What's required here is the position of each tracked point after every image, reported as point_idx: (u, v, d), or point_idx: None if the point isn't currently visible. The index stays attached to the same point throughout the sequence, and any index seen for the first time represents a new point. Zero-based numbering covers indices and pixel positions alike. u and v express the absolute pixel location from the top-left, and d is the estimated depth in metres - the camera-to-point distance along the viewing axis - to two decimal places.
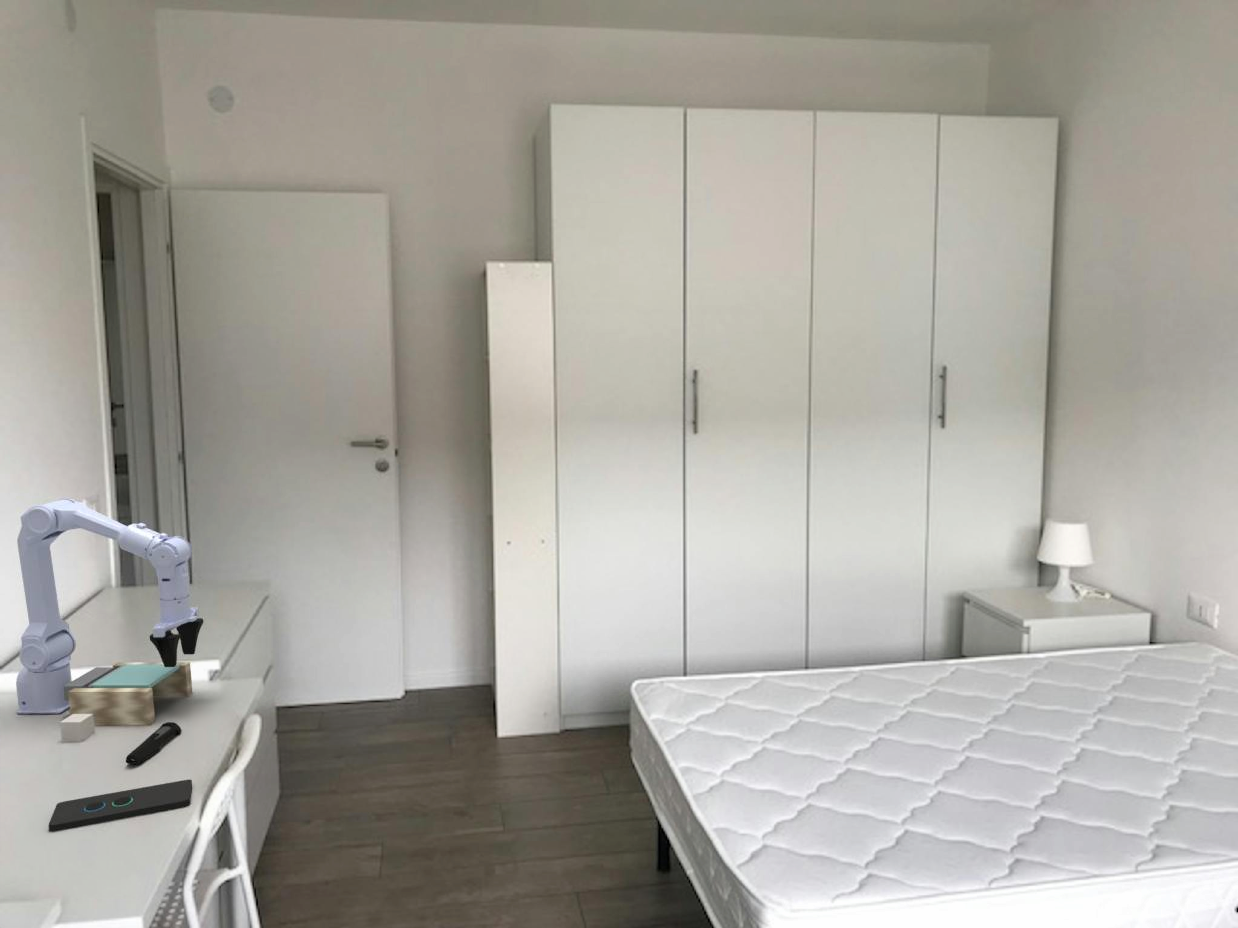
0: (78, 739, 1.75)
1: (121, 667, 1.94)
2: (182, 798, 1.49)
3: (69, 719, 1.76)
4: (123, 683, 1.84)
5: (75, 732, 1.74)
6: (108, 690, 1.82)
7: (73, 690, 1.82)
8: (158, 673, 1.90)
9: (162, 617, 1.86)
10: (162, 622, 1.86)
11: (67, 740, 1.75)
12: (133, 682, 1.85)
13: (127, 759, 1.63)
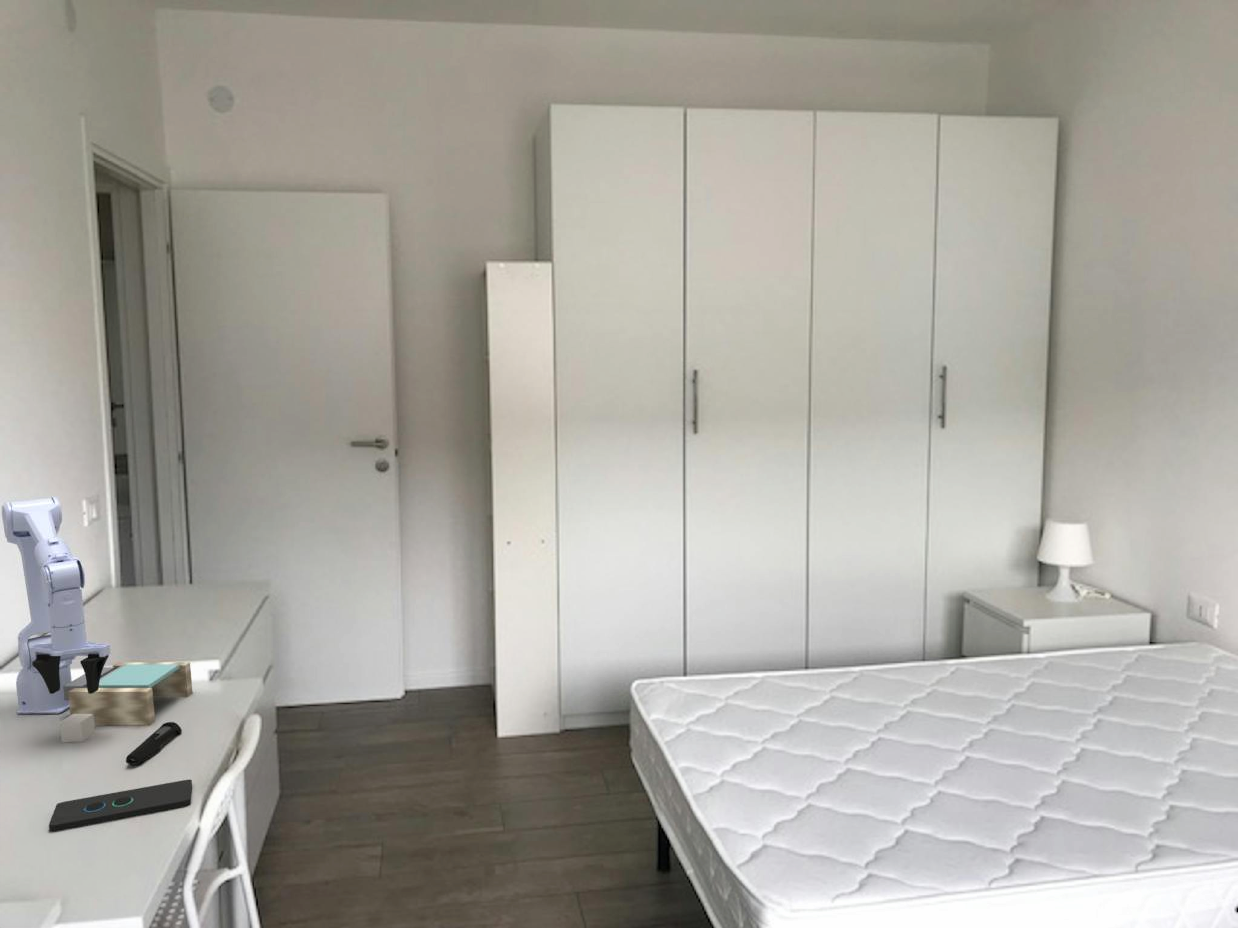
0: (78, 739, 1.75)
1: (121, 667, 1.94)
2: (183, 798, 1.49)
3: (69, 719, 1.76)
4: (123, 683, 1.84)
5: (75, 732, 1.74)
6: (108, 690, 1.82)
7: (73, 690, 1.82)
8: (158, 673, 1.90)
9: None
10: None
11: (67, 740, 1.75)
12: (133, 682, 1.85)
13: (127, 759, 1.63)
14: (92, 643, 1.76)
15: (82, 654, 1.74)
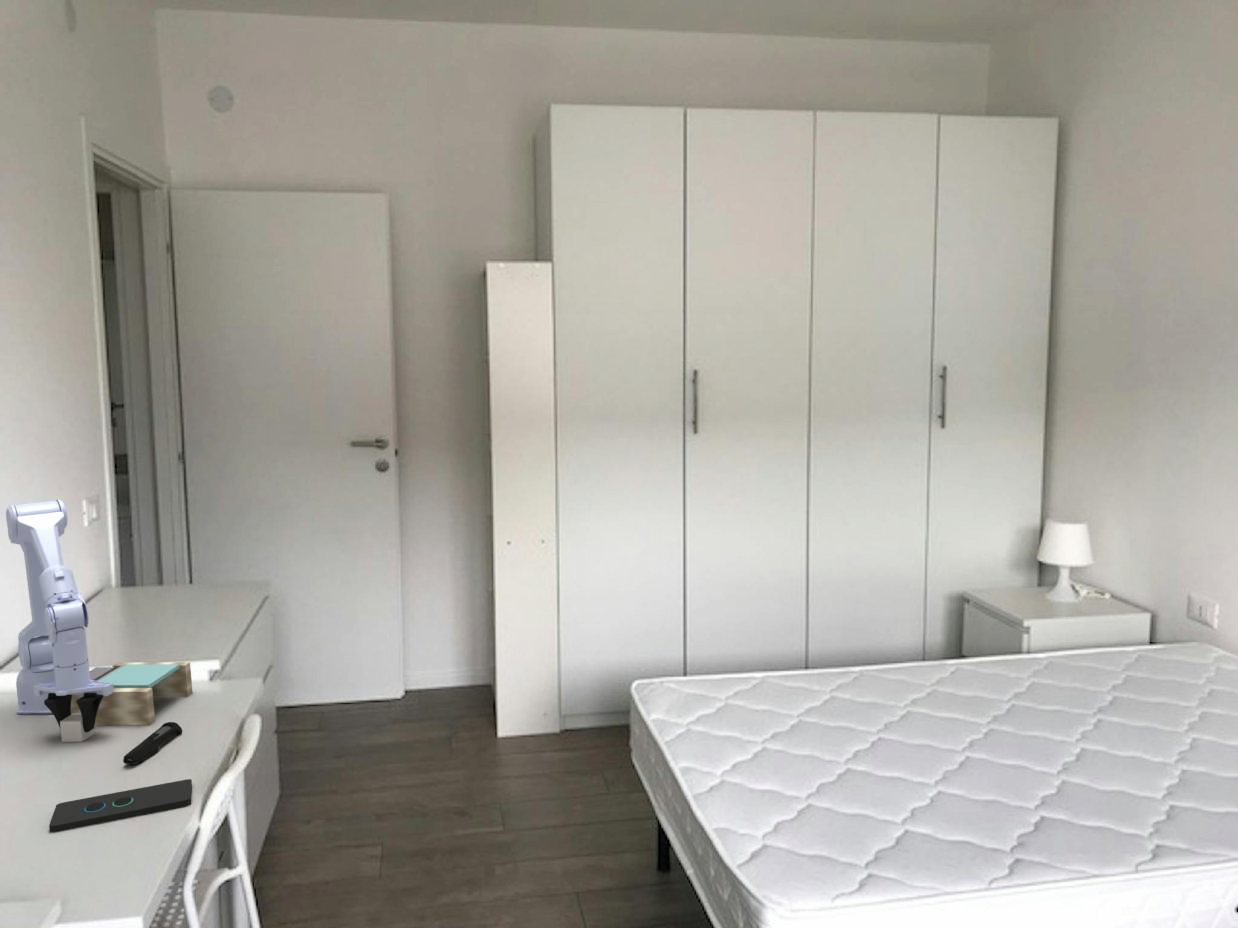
0: (78, 738, 1.75)
1: (121, 667, 1.94)
2: (183, 798, 1.49)
3: (69, 718, 1.76)
4: (123, 683, 1.84)
5: (75, 731, 1.74)
6: None
7: None
8: (158, 673, 1.90)
9: None
10: None
11: (67, 739, 1.75)
12: (133, 682, 1.85)
13: (124, 759, 1.63)
14: (96, 681, 1.77)
15: (86, 693, 1.75)
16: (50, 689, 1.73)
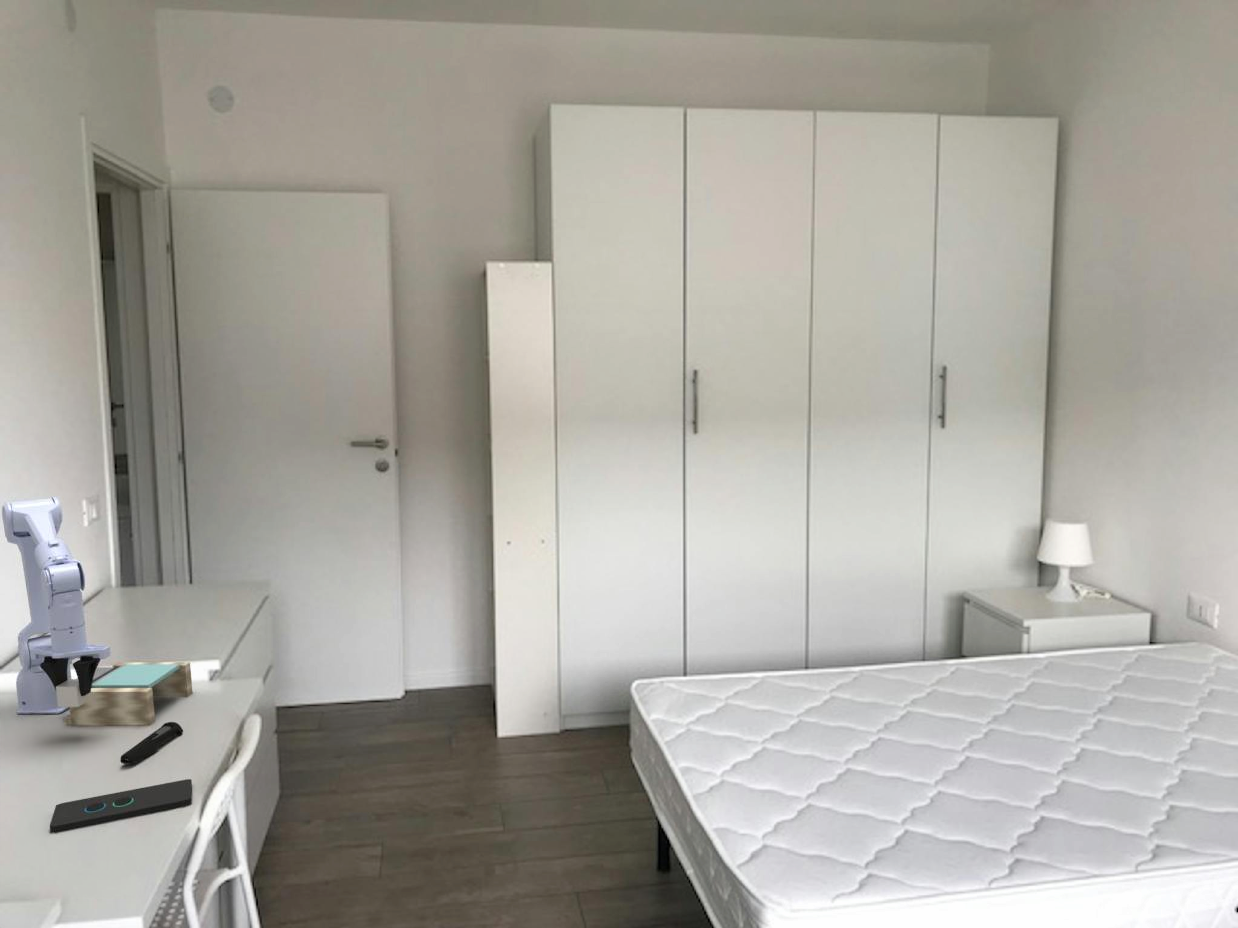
0: (74, 704, 1.74)
1: (121, 667, 1.94)
2: (184, 798, 1.49)
3: (65, 684, 1.75)
4: (123, 683, 1.84)
5: (71, 697, 1.73)
6: (108, 690, 1.82)
7: None
8: (158, 673, 1.90)
9: None
10: None
11: (63, 705, 1.74)
12: (133, 682, 1.85)
13: (121, 759, 1.63)
14: (92, 645, 1.76)
15: (82, 656, 1.74)
16: (46, 652, 1.73)
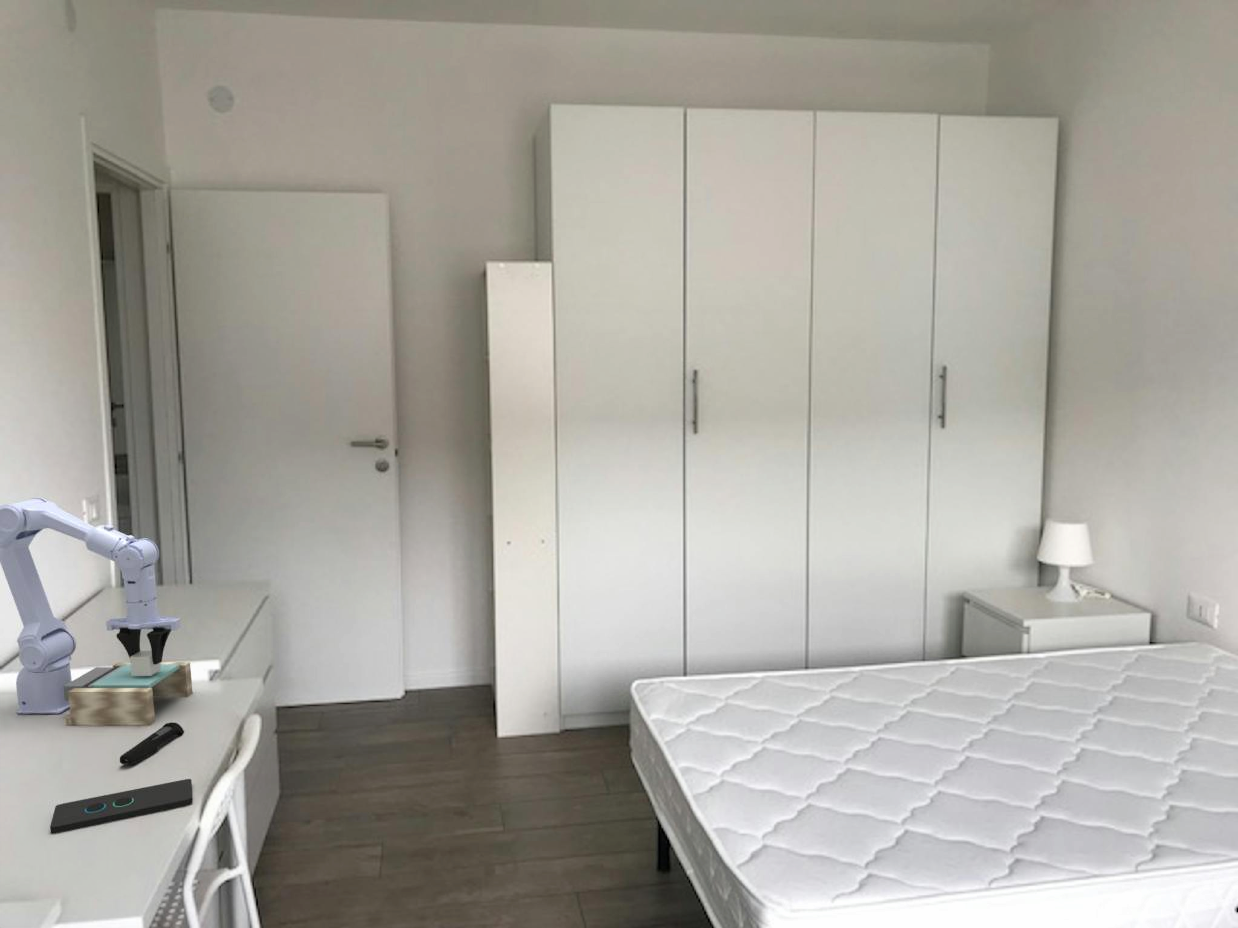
0: (146, 673, 1.87)
1: (121, 667, 1.94)
2: (184, 797, 1.50)
3: (138, 654, 1.88)
4: (123, 683, 1.84)
5: (144, 666, 1.87)
6: (108, 690, 1.82)
7: (73, 690, 1.82)
8: (158, 673, 1.90)
9: None
10: None
11: (136, 674, 1.87)
12: (133, 682, 1.85)
13: (121, 759, 1.63)
14: (163, 618, 1.90)
15: (155, 628, 1.88)
16: (122, 623, 1.86)
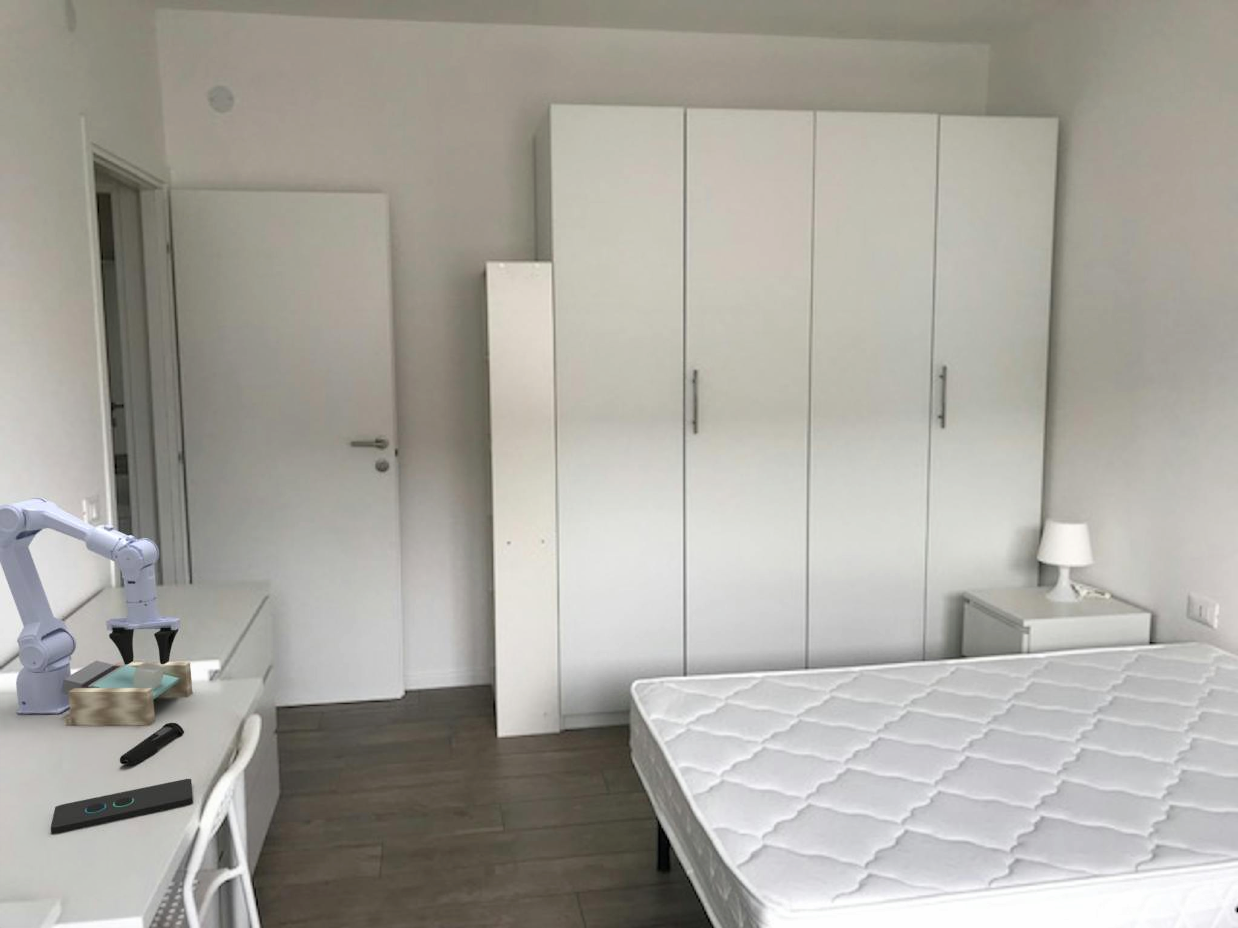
0: (147, 687, 1.87)
1: (121, 667, 1.94)
2: (185, 797, 1.50)
3: (143, 667, 1.88)
4: None
5: (146, 680, 1.87)
6: (108, 690, 1.82)
7: (73, 690, 1.82)
8: None
9: None
10: None
11: (137, 686, 1.87)
12: None
13: (121, 760, 1.63)
14: (163, 618, 1.90)
15: (155, 627, 1.88)
16: (122, 623, 1.86)
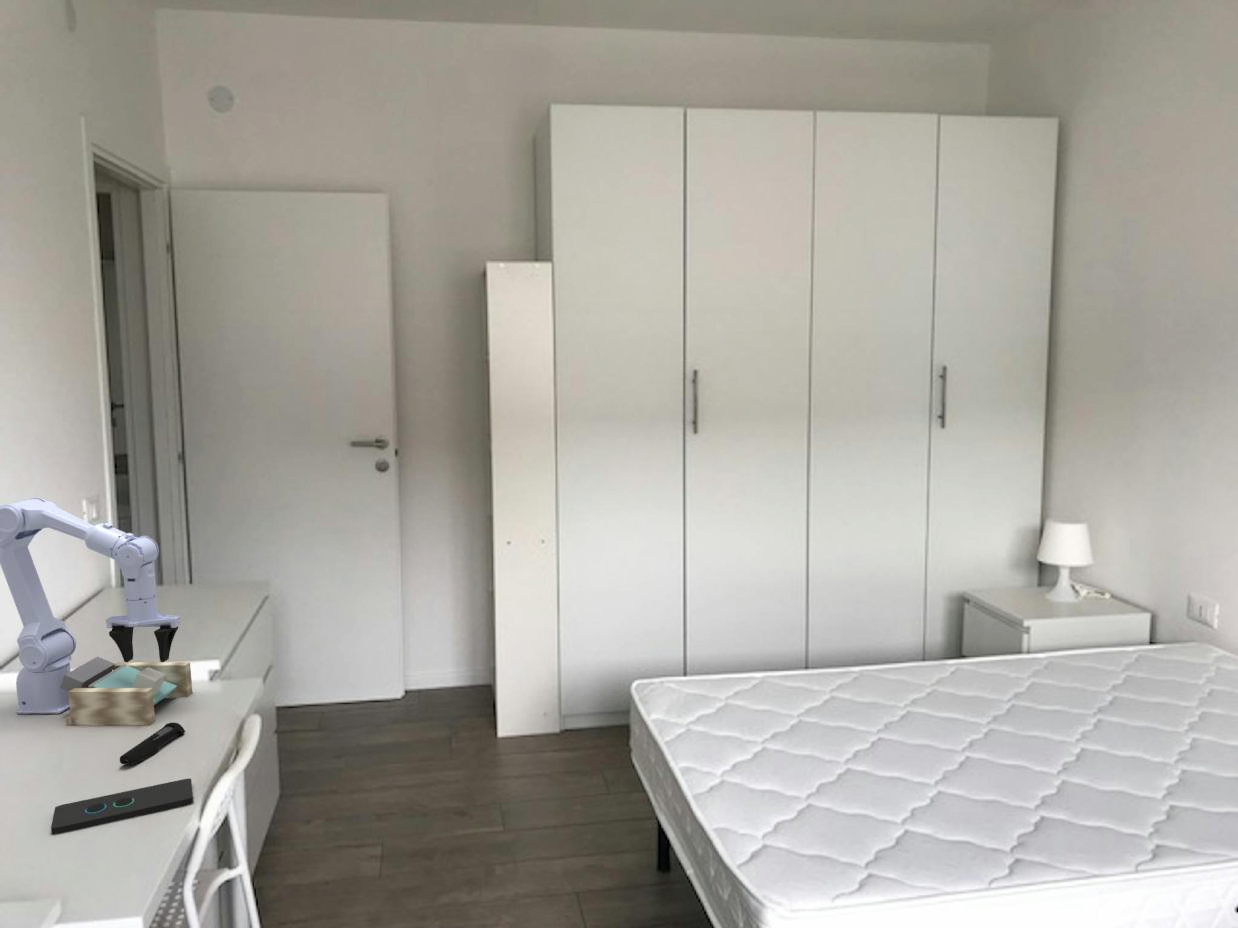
0: None
1: (122, 668, 1.94)
2: (185, 797, 1.50)
3: (145, 673, 1.88)
4: None
5: (146, 687, 1.87)
6: (108, 690, 1.82)
7: (73, 690, 1.82)
8: None
9: None
10: None
11: None
12: None
13: (121, 759, 1.63)
14: (163, 615, 1.89)
15: (155, 625, 1.88)
16: (122, 621, 1.86)
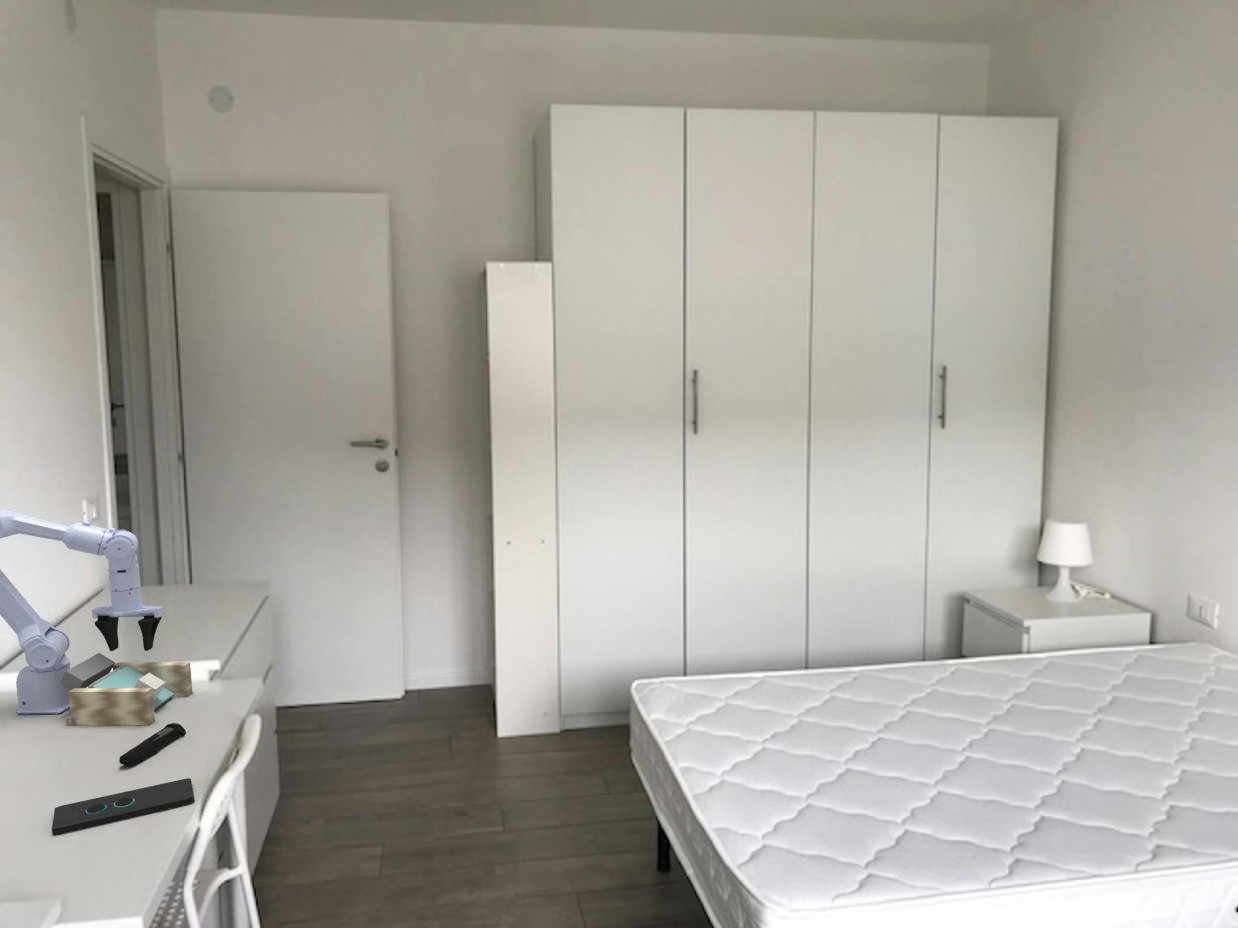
0: None
1: (122, 668, 1.94)
2: (186, 796, 1.50)
3: (146, 679, 1.88)
4: None
5: None
6: (108, 690, 1.82)
7: (73, 690, 1.82)
8: None
9: None
10: None
11: None
12: None
13: (120, 760, 1.63)
14: (147, 606, 1.97)
15: (139, 615, 1.95)
16: (107, 611, 1.93)
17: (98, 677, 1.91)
